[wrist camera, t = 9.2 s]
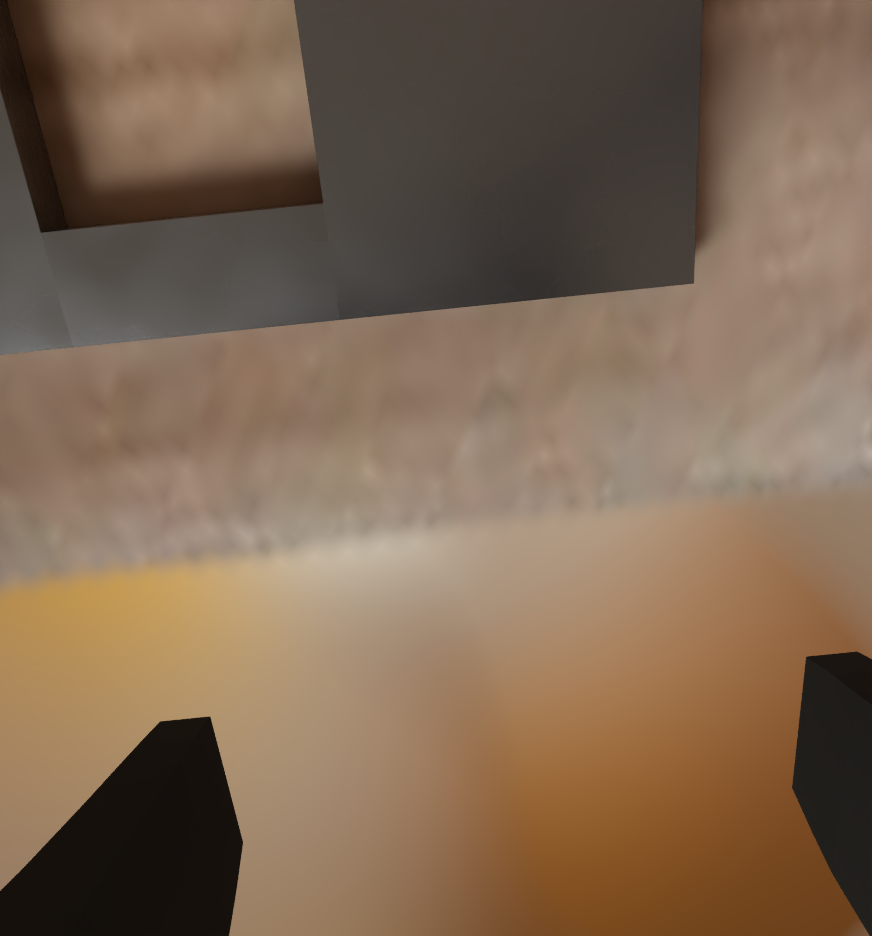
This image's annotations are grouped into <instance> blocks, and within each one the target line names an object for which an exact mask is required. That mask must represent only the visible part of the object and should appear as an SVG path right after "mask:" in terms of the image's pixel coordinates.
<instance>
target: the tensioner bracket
mask: <svg viewBox="0 0 872 936" xmlns="http://www.w3.org/2000/svg"><path fill="white" fill-rule="evenodd" d="M294 3H295V10H296V17H297V24H298V31H299V38H300V45H301V52H302V59H303V66H304V73H305V80H306V87H307V94H308V101H309V107H310V114H311V121H312V128H313V135H314V142H315V149H316V156H317V163H318V170H319V177H320V184H321V191H322V198H323V202H316V203H307V204H297V205H287V206H278V207H268V208H258V209H249V210H239V211H229V212H220V213H210V214H201V215H191V216H181V217H172V218H162V219H152V220H143V221H133V222H123V223H114V224H104V225H94V226H85V227H75V228H67V226H66V223H65V219H64V215H63V211H62V208H61V204H60V200H59V196H58V193H57V189H56V185H55V182H54V178H53V174H52V170H51V167H50V163H49V159H48V155H47V152H46V148H45V144H44V141H43V137H42V133H41V129H40V126H39V122H38V118H37V114H36V111H35V107H34V103H33V100H32V96H31V92H30V88H29V85H28V81H27V77H26V73H25V70H24V66H23V62H22V59H21V55H20V51H19V47H18V44H17V40H16V36H15V32H14V29H13V25H12V21H11V17H10V14H9V10H8V6H7V3H6V0H0V355H2V354H12V353H22V352H32V351H41V350H51V349H61V348H71V347H80V346H90V345H100V344H109V343H119V342H129V341H139V340H148V339H158V338H168V337H177V336H187V335H197V334H207V333H216V332H226V331H236V330H245V329H255V328H265V327H275V326H284V325H294V324H304V323H313V322H323V321H333V320H343V319H352V318H362V317H372V316H382V315H391V314H401V313H411V312H420V311H430V310H440V309H450V308H459V307H469V306H479V305H488V304H498V303H508V302H518V301H527V300H537V299H547V298H556V297H566V296H576V295H586V294H595V293H605V292H615V291H624V290H634V289H644V288H654V287H663V286H673V285H683V284H693V283H694V262H695V231H696V199H697V168H698V137H699V106H700V75H701V43H702V12H703V0H294Z"/></svg>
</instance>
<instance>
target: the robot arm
mask: <svg viewBox="0 0 872 936" xmlns="http://www.w3.org/2000/svg"><path fill="white" fill-rule="evenodd" d="M792 788H793V791H794V793H795V795H796V797H797V799H798V802H799V804H800V806H801V808H802V811H803V813H804V815H805V817H806V819H807V822H808V824H809V826H810V828H811V831H812V833H813V835H814V837H815V839H816V841H817V843H818V845H819V847H820V849H821V851H822V853H823V855H824V858H825V860H826V862H827V864H828V866H829V868H830V870H831V872H832V874H833V876H834V877H835V879H836V881H837V882H838V884H839V886H840V887H841V889H842V891H843V892H844V894H845V896H846V897H847V899H848V901H849V902H850V904H851V906H852V907H853V909H854V910H855V912H856V914H857V915H858V917H859V919H860V920H861V922H862V924H863V925H864V927H865V928H866V930H867V932H868V933H869V935H870V936H872V659H870V658H868V657H866V656H864V655H862V654H861V653H858V652H849V653H839V654H829V655H819V656H809V657H806V664H805V673H804V682H803V692H802V701H801V711H800V720H799V729H798V739H797V748H796V757H795V767H794V776H793V785H792ZM242 846H243V841H242V837H241V833H240V829H239V825H238V821H237V818H236V814H235V810H234V806H233V802H232V798H231V794H230V791H229V787H228V783H227V779H226V775H225V771H224V768H223V764H222V760H221V756H220V752H219V748H218V745H217V741H216V737H215V733H214V729H213V726H212V722H211V718H210V717H201V718H191V719H181V720H171V721H162V722H159V724H158V725H157V726H156V727H155V728H154V729H153V730H152V731H151V732H150V733H149V734H148V735H147V736H146V737H145V738H144V739H143V740H142V741H141V742H140V743H139V744H138V746H137V747H136V748H135V749H134V750H133V751H132V752H131V753H130V754H129V755H128V756H127V757H126V759H125V760H124V761H123V762H122V763H121V764H120V765H119V766H118V767H117V768H116V769H115V771H114V772H113V773H112V774H111V775H110V776H109V777H108V778H107V779H106V780H105V781H104V783H103V784H102V785H101V786H100V787H99V788H98V789H97V790H96V791H95V792H94V793H93V795H92V796H91V797H90V798H89V799H88V800H87V801H86V802H85V803H84V805H82V806H81V808H80V809H79V810H78V811H77V812H76V813H75V814H74V815H73V816H72V817H71V818H70V819H69V820H68V821H67V823H66V824H65V825H64V826H63V827H62V828H61V829H60V830H59V831H58V832H57V833H56V834H55V835H54V836H53V837H52V838H51V839H50V840H49V842H48V843H47V844H46V845H45V846H44V847H43V848H42V849H41V850H40V851H39V852H38V853H37V854H36V856H34V857H33V858H32V860H31V861H30V862H29V863H28V864H27V865H26V866H25V867H24V868H23V869H22V870H21V871H20V872H19V873H18V874H17V875H16V876H15V877H14V878H13V879H12V880H11V881H10V882H9V883H8V884H7V885H6V886H5V887H4V888H3V889H2V890H1V891H0V936H229V932H230V926H231V920H232V914H233V908H234V902H235V895H236V889H237V881H238V875H239V867H240V860H241V853H242Z"/></svg>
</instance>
